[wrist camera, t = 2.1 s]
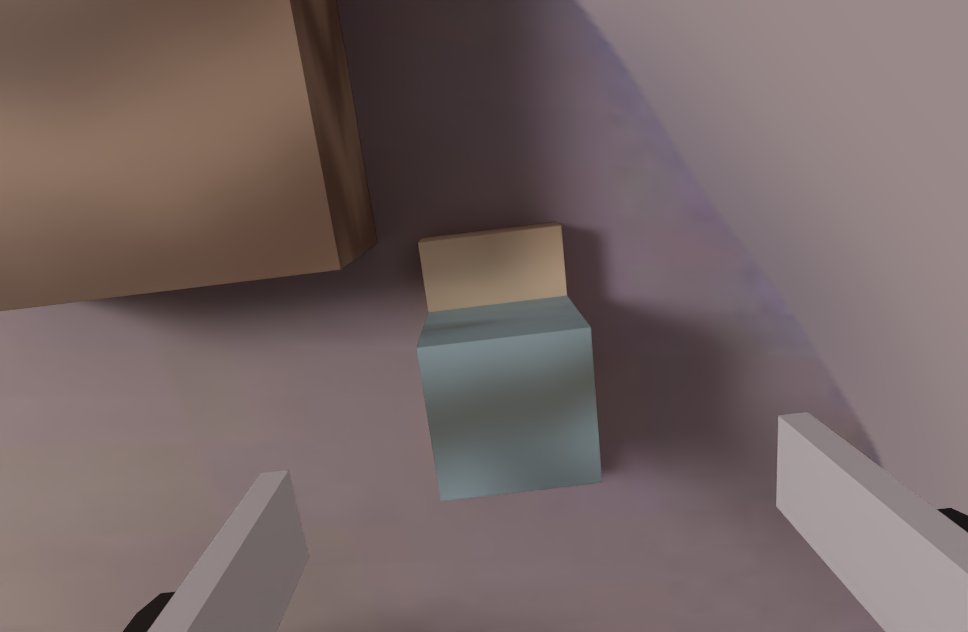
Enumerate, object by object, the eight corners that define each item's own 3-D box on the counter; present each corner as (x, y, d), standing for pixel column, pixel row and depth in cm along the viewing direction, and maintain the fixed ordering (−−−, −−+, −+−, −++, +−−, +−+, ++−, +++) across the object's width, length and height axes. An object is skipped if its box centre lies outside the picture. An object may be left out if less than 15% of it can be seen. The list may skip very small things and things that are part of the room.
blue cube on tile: (574, 459, 28) (607, 551, 21) (457, 472, 28) (451, 569, 21) (554, 221, 25) (584, 239, 18) (422, 237, 25) (403, 261, 18)
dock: (377, 242, 25) (314, 288, 15) (26, 285, 25) (-259, 358, 15) (305, -183, 21) (155, -498, 11) (-114, -127, 21) (-626, -387, 11)
